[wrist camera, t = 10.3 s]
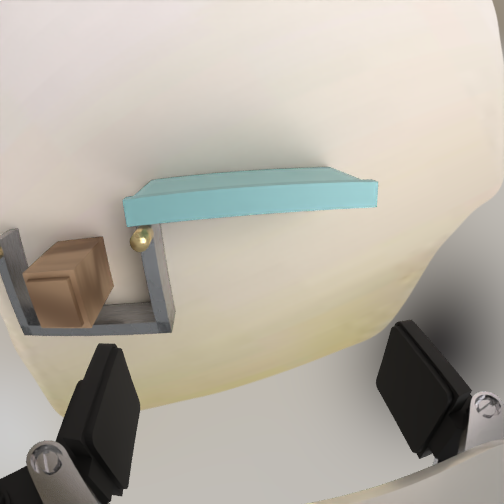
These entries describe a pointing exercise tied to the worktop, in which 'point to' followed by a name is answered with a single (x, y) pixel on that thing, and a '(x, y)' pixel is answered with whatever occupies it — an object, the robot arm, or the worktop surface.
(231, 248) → the worktop surface
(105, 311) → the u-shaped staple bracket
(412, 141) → the worktop surface
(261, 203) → the flat teal rectangular block
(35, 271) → the block
